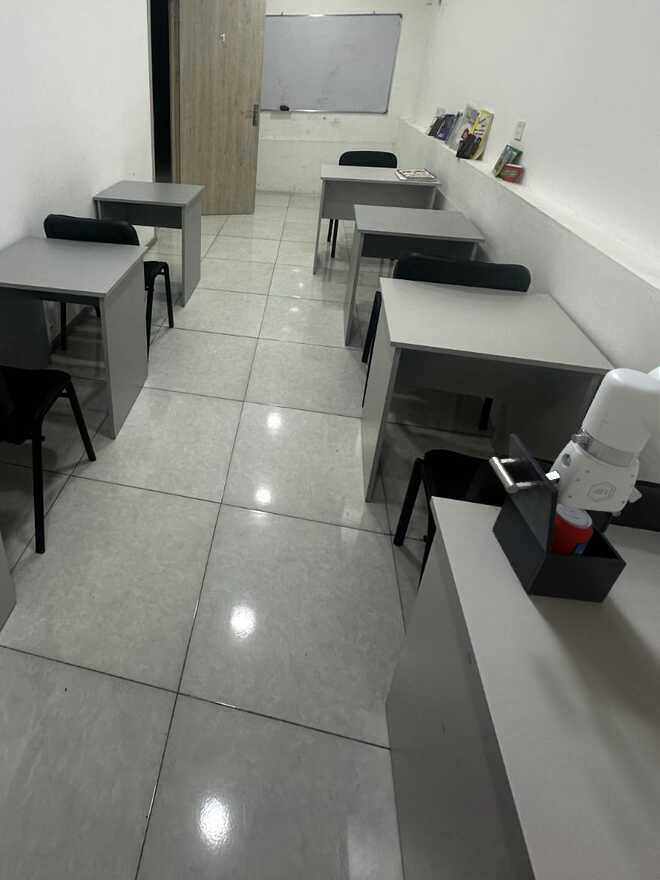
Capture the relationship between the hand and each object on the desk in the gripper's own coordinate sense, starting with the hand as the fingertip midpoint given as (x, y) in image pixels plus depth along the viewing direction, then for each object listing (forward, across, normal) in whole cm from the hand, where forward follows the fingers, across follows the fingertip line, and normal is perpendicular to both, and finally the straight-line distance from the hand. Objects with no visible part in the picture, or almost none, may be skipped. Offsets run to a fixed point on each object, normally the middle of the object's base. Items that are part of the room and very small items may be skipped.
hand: (566, 522), depth 81 cm
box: (+10, 0, 0) cm, 10 cm away
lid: (-6, -8, 0) cm, 10 cm away
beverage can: (+10, 0, 0) cm, 10 cm away
